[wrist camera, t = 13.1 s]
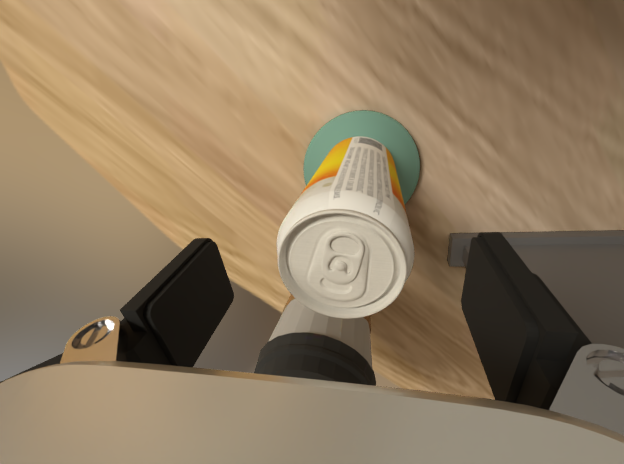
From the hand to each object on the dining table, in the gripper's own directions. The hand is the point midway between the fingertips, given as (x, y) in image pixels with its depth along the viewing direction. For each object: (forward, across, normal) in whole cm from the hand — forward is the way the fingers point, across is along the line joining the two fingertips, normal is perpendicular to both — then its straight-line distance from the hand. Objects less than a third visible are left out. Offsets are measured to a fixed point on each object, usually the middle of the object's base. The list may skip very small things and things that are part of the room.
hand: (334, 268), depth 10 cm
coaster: (+16, 0, +2) cm, 16 cm away
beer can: (+16, 0, +1) cm, 16 cm away
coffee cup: (+16, +3, +12) cm, 21 cm away
